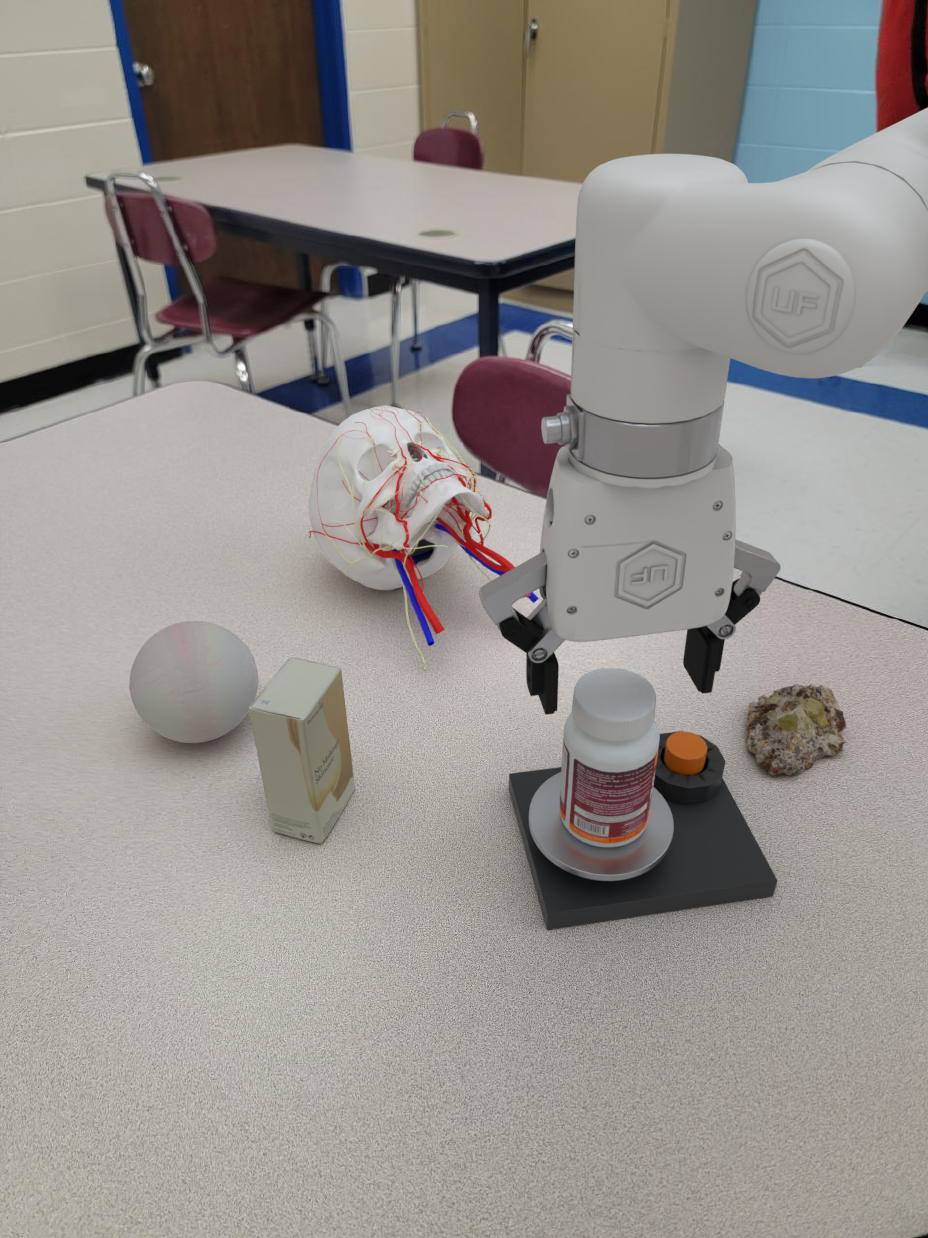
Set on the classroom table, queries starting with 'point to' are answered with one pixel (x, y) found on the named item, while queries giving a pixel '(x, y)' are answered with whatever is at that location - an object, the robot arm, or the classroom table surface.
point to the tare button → (685, 753)
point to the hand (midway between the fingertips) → (621, 689)
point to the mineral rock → (795, 728)
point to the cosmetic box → (303, 748)
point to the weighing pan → (592, 858)
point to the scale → (687, 875)
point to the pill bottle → (609, 758)
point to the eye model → (193, 681)
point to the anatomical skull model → (397, 506)
